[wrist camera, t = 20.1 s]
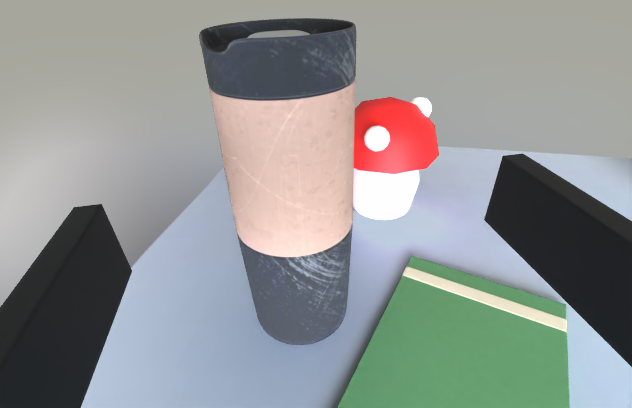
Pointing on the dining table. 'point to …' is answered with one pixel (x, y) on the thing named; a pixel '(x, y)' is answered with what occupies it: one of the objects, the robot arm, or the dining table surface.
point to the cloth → (462, 346)
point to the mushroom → (390, 154)
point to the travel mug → (289, 163)
